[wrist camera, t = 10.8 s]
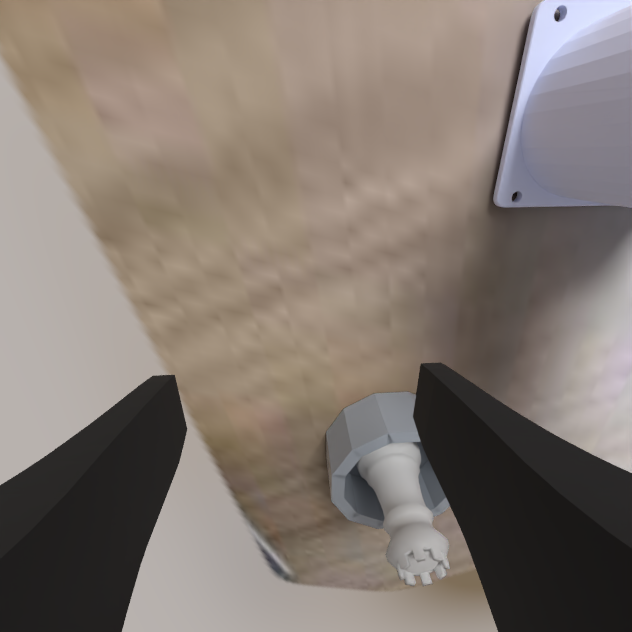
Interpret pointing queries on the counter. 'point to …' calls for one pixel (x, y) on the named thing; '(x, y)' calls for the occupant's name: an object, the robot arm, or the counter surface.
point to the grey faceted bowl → (365, 437)
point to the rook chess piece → (405, 512)
